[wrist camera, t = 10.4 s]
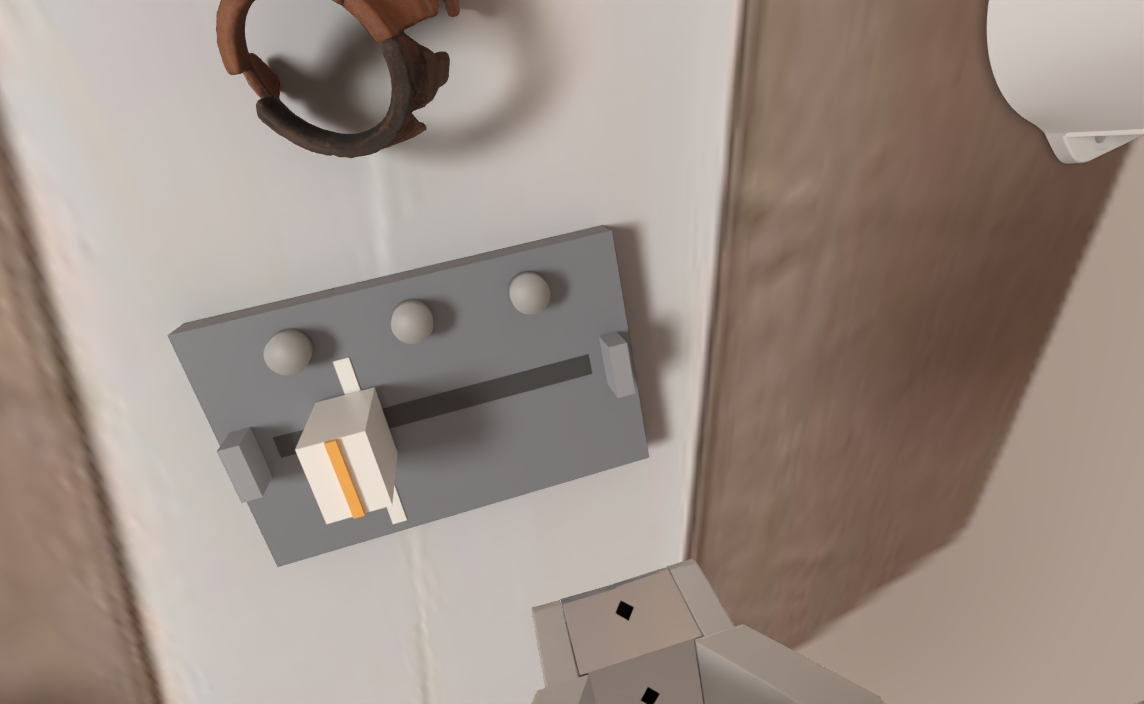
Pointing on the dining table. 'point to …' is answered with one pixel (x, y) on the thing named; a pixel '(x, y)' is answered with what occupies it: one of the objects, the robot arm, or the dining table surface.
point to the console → (428, 385)
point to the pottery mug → (415, 71)
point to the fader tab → (349, 456)
